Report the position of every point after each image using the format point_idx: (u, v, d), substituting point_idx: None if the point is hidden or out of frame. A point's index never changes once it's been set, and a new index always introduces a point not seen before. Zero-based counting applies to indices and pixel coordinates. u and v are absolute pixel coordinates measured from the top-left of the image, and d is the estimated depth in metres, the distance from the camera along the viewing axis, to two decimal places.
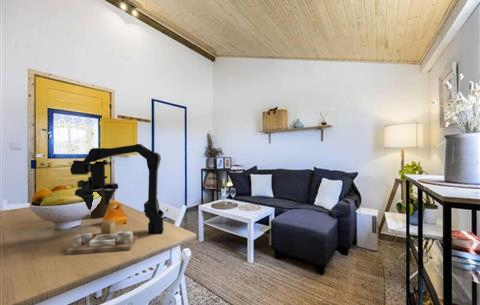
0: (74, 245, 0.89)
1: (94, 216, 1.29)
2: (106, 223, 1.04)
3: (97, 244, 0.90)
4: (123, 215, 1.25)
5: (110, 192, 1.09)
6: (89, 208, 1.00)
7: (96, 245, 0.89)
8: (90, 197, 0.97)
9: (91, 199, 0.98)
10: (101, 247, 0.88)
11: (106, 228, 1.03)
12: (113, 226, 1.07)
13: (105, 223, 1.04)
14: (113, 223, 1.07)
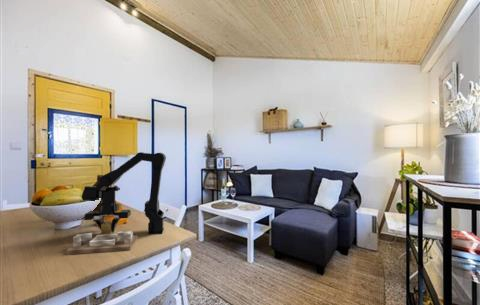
0: (74, 245, 0.89)
1: None
2: (106, 223, 1.04)
3: (97, 244, 0.90)
4: None
5: None
6: None
7: (96, 245, 0.89)
8: None
9: (98, 223, 1.02)
10: (101, 247, 0.88)
11: (106, 228, 1.03)
12: None
13: (105, 223, 1.04)
14: None
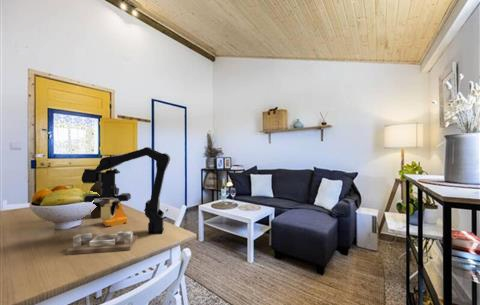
0: (74, 245, 0.89)
1: (94, 216, 1.29)
2: (106, 206, 1.04)
3: (97, 244, 0.90)
4: (123, 215, 1.25)
5: None
6: None
7: (96, 245, 0.89)
8: (95, 204, 1.02)
9: (98, 206, 1.02)
10: (101, 247, 0.88)
11: (106, 210, 1.02)
12: None
13: (105, 206, 1.03)
14: None
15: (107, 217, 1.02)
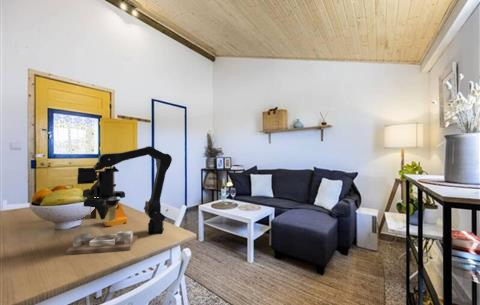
0: (74, 245, 0.89)
1: (94, 216, 1.29)
2: (109, 206, 0.96)
3: (97, 244, 0.90)
4: (123, 215, 1.25)
5: (114, 202, 0.99)
6: (102, 218, 0.94)
7: (96, 245, 0.89)
8: (105, 206, 0.92)
9: (105, 208, 0.93)
10: (101, 247, 0.88)
11: (112, 211, 0.96)
12: None
13: (108, 207, 0.95)
14: None
15: (113, 217, 0.97)
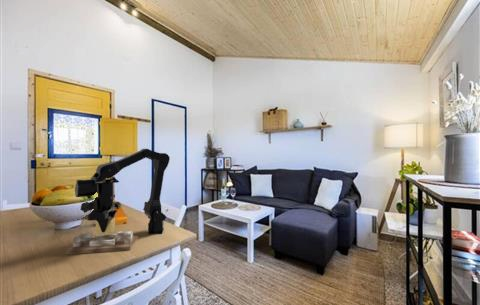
0: (74, 245, 0.89)
1: None
2: None
3: (97, 244, 0.90)
4: (123, 215, 1.25)
5: (113, 214, 0.96)
6: (103, 230, 0.91)
7: (96, 245, 0.89)
8: (108, 218, 0.90)
9: (108, 220, 0.91)
10: (101, 247, 0.88)
11: (113, 222, 0.94)
12: None
13: None
14: None
15: (114, 229, 0.95)
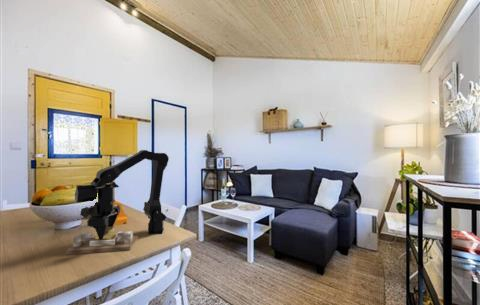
0: (74, 245, 0.89)
1: None
2: (109, 228, 0.93)
3: (97, 244, 0.90)
4: (123, 215, 1.25)
5: (114, 217, 0.98)
6: (101, 238, 0.89)
7: (96, 245, 0.89)
8: (106, 226, 0.87)
9: (106, 227, 0.88)
10: (101, 247, 0.88)
11: (113, 232, 0.94)
12: None
13: (108, 228, 0.93)
14: None
15: (113, 238, 0.95)
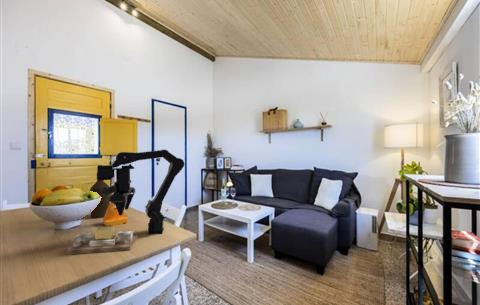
0: (74, 245, 0.89)
1: (94, 216, 1.29)
2: (109, 228, 0.93)
3: (97, 244, 0.90)
4: (123, 215, 1.25)
5: (131, 196, 1.07)
6: (121, 214, 0.97)
7: (96, 245, 0.89)
8: (125, 202, 0.96)
9: (125, 204, 0.97)
10: (101, 247, 0.88)
11: (113, 232, 0.94)
12: None
13: (108, 228, 0.93)
14: None
15: (113, 238, 0.95)
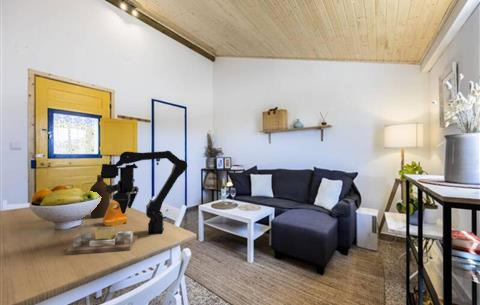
0: (74, 245, 0.89)
1: (94, 216, 1.29)
2: (109, 228, 0.93)
3: (97, 244, 0.90)
4: (123, 215, 1.25)
5: (134, 195, 1.09)
6: (123, 212, 0.99)
7: (96, 245, 0.89)
8: (128, 201, 0.98)
9: (128, 202, 0.99)
10: (101, 247, 0.88)
11: (113, 232, 0.94)
12: None
13: (108, 228, 0.93)
14: None
15: (113, 238, 0.95)
